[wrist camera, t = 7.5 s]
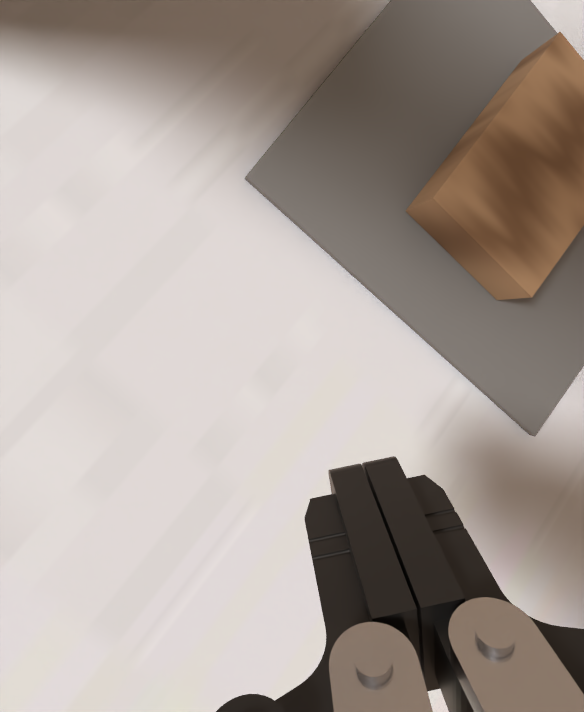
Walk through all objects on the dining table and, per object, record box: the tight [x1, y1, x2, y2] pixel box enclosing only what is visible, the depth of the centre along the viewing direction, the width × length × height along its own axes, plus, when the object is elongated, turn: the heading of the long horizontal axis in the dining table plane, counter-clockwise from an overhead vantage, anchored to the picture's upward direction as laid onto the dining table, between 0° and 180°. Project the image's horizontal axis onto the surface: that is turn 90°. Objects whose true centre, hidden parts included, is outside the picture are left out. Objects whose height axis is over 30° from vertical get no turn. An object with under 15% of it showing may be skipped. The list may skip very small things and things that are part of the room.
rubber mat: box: [245, 0, 584, 436], centre depth 30 cm, size 24×20×1 cm
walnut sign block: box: [406, 32, 584, 300], centre depth 29 cm, size 8×3×12 cm
